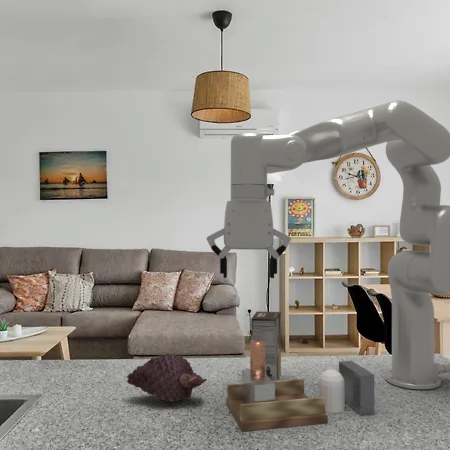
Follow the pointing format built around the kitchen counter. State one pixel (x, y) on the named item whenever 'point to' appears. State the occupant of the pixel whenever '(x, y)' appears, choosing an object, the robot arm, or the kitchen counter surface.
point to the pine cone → (166, 378)
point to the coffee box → (269, 340)
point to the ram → (257, 377)
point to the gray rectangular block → (358, 387)
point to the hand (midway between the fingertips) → (248, 277)
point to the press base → (277, 407)
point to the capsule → (332, 391)
